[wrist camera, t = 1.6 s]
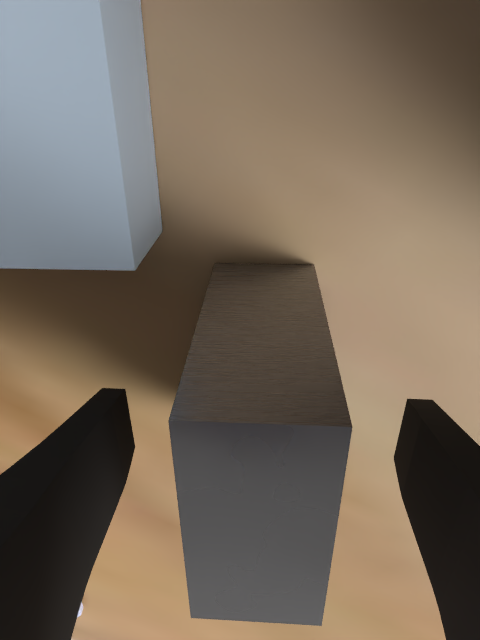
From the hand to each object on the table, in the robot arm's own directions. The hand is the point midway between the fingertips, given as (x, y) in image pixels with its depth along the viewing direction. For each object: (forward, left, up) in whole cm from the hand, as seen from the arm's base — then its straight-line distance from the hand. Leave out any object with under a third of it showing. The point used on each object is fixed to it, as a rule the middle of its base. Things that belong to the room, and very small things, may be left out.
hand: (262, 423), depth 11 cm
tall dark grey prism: (0, 0, -4) cm, 4 cm away
